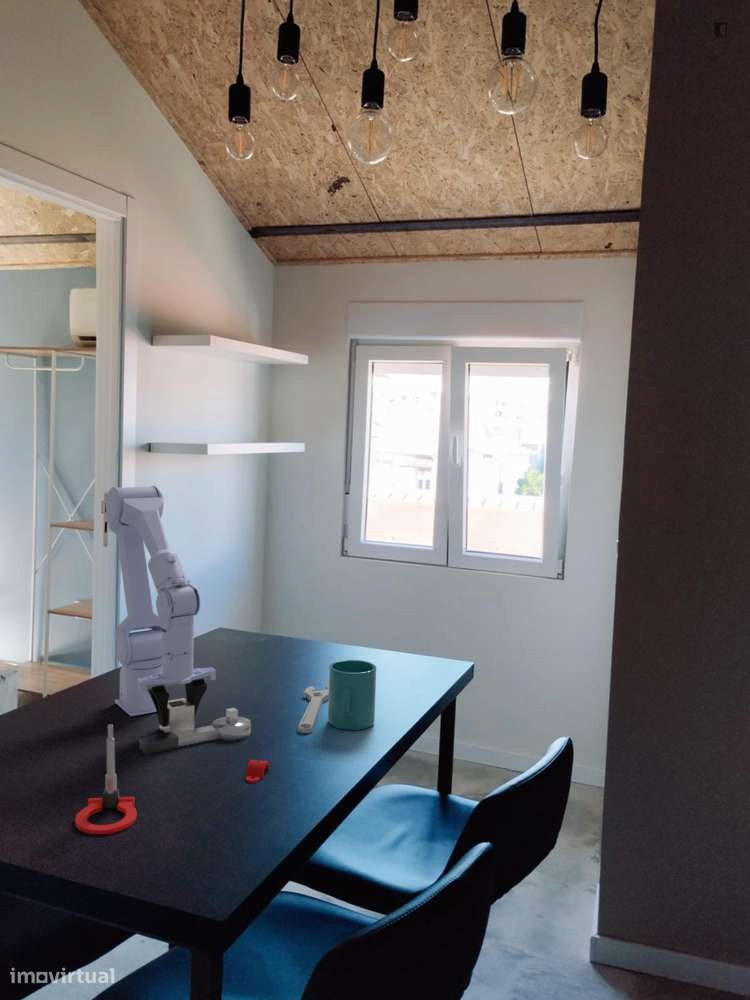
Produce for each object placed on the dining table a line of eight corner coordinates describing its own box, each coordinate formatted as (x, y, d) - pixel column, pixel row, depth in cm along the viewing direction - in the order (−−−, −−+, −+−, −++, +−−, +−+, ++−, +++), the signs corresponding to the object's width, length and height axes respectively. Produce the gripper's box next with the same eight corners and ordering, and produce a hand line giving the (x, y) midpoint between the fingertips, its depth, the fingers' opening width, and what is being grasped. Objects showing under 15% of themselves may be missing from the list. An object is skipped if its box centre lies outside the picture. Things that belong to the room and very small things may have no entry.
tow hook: (132, 837, 119) (141, 803, 128) (131, 749, 117) (140, 722, 126) (69, 839, 118) (83, 805, 127) (67, 751, 116) (81, 723, 125)
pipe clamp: (256, 763, 144) (256, 751, 144) (272, 765, 144) (272, 753, 144) (242, 783, 136) (242, 770, 136) (259, 785, 136) (259, 772, 136)
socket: (159, 728, 158) (159, 702, 158) (183, 723, 161) (184, 697, 160) (169, 736, 154) (169, 709, 154) (194, 731, 157) (194, 705, 157)
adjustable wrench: (311, 737, 158) (311, 728, 157) (277, 734, 159) (278, 725, 158) (337, 693, 182) (337, 685, 182) (308, 691, 183) (308, 683, 183)
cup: (320, 735, 157) (322, 676, 156) (332, 713, 169) (334, 658, 168) (368, 739, 156) (370, 679, 155) (377, 716, 168) (379, 661, 167)
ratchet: (135, 745, 150) (135, 720, 149) (240, 723, 162) (240, 700, 161) (149, 758, 144) (149, 733, 144) (257, 735, 156) (257, 712, 156)
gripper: (147, 661, 149) (146, 736, 150) (223, 650, 157) (222, 722, 158) (133, 652, 154) (132, 724, 156) (207, 642, 163) (206, 710, 164)
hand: (176, 722), depth 157 cm, fingers closed on socket, 5 cm apart
